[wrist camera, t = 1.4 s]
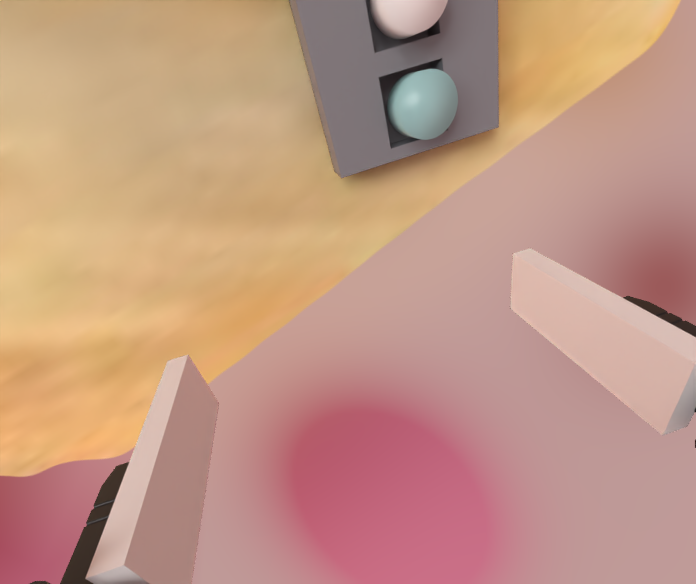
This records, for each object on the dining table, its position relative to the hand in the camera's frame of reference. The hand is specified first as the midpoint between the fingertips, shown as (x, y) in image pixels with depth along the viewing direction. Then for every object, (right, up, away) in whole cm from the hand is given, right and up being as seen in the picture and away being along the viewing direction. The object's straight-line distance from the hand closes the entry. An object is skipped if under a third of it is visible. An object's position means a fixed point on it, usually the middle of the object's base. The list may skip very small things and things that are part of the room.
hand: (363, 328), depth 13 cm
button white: (+3, +21, +9) cm, 23 cm away
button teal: (+5, +16, +13) cm, 21 cm away
